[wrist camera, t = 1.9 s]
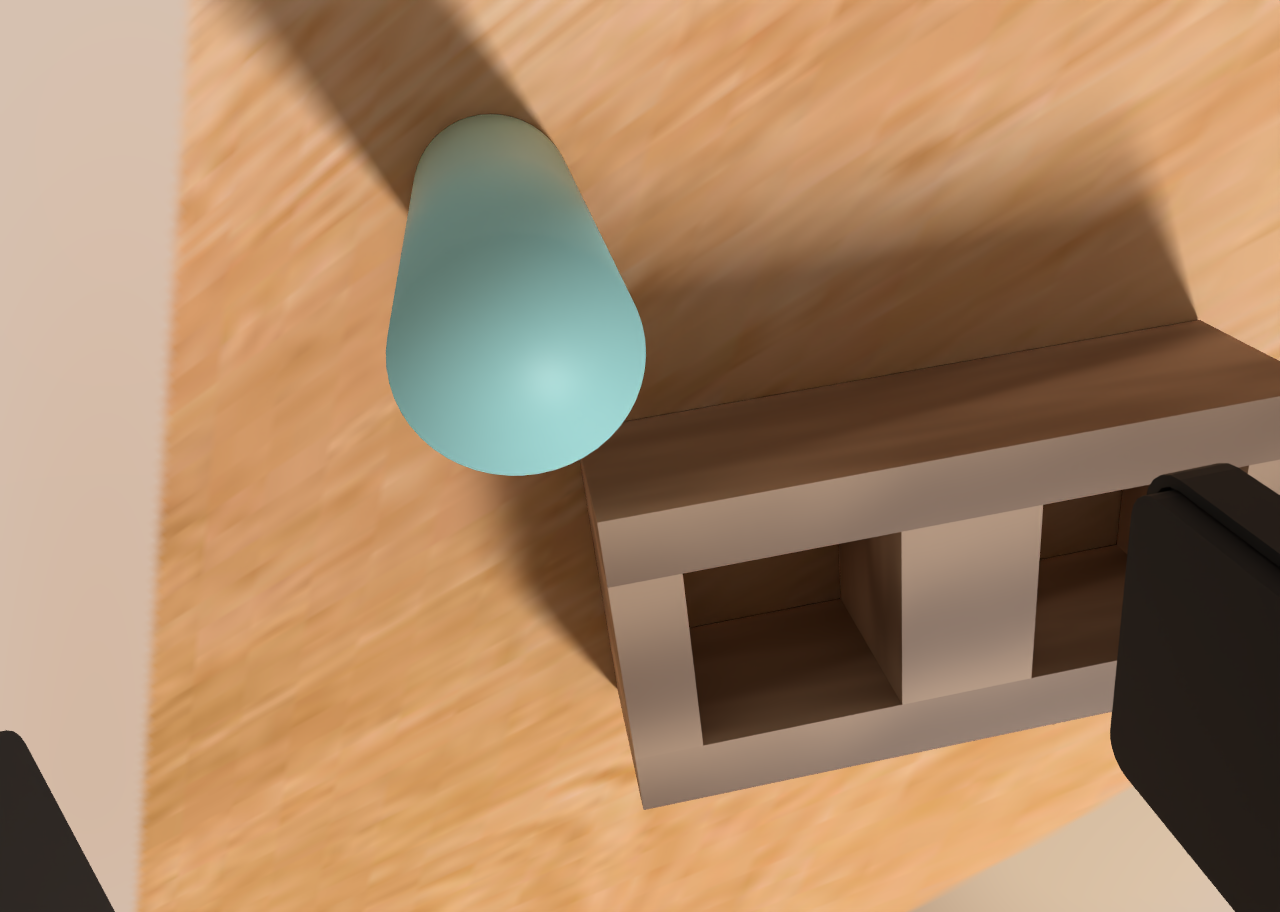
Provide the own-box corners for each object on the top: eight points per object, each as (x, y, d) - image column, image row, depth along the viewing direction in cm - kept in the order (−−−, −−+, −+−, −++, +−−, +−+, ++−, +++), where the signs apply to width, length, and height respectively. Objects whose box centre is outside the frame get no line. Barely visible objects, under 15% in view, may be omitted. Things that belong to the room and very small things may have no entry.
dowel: (396, 127, 24) (358, 256, 14) (559, 102, 24) (629, 213, 15) (431, 284, 26) (417, 495, 16) (583, 260, 26) (659, 452, 16)
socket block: (575, 430, 28) (597, 522, 24) (1199, 319, 30) (1329, 386, 25) (617, 690, 32) (643, 809, 28) (1163, 581, 34) (1270, 678, 29)
